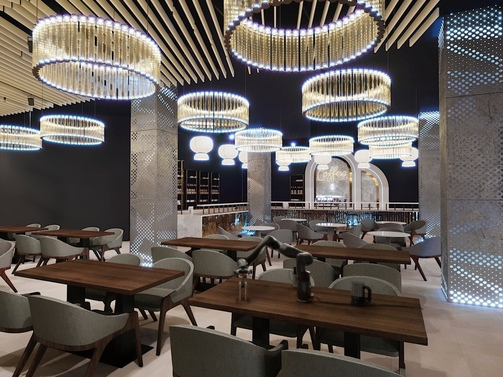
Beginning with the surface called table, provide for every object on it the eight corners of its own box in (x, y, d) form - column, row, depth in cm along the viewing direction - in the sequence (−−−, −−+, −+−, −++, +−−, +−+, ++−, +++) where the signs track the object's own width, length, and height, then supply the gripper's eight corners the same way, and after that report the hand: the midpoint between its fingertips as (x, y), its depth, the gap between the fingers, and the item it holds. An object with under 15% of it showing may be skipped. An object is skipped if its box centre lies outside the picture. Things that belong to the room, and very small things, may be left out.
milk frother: (350, 305, 223) (350, 283, 224) (351, 298, 238) (351, 277, 238) (372, 307, 218) (372, 285, 219) (372, 300, 233) (372, 279, 234)
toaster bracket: (237, 298, 235) (237, 280, 236) (248, 298, 236) (248, 280, 236) (236, 303, 225) (237, 284, 226) (248, 303, 226) (248, 284, 226)
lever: (239, 276, 241) (239, 273, 240) (246, 276, 241) (246, 273, 240) (239, 287, 230) (239, 285, 229) (246, 287, 230) (246, 285, 229)
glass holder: (305, 286, 269) (305, 267, 270) (292, 288, 261) (292, 269, 262) (298, 283, 277) (298, 265, 277) (285, 286, 269) (285, 267, 269)
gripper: (234, 264, 261) (233, 268, 244) (252, 264, 261) (252, 268, 245) (234, 273, 260) (233, 279, 244) (251, 273, 261) (252, 279, 245)
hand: (243, 273), depth 245 cm, fingers open, 8 cm apart
